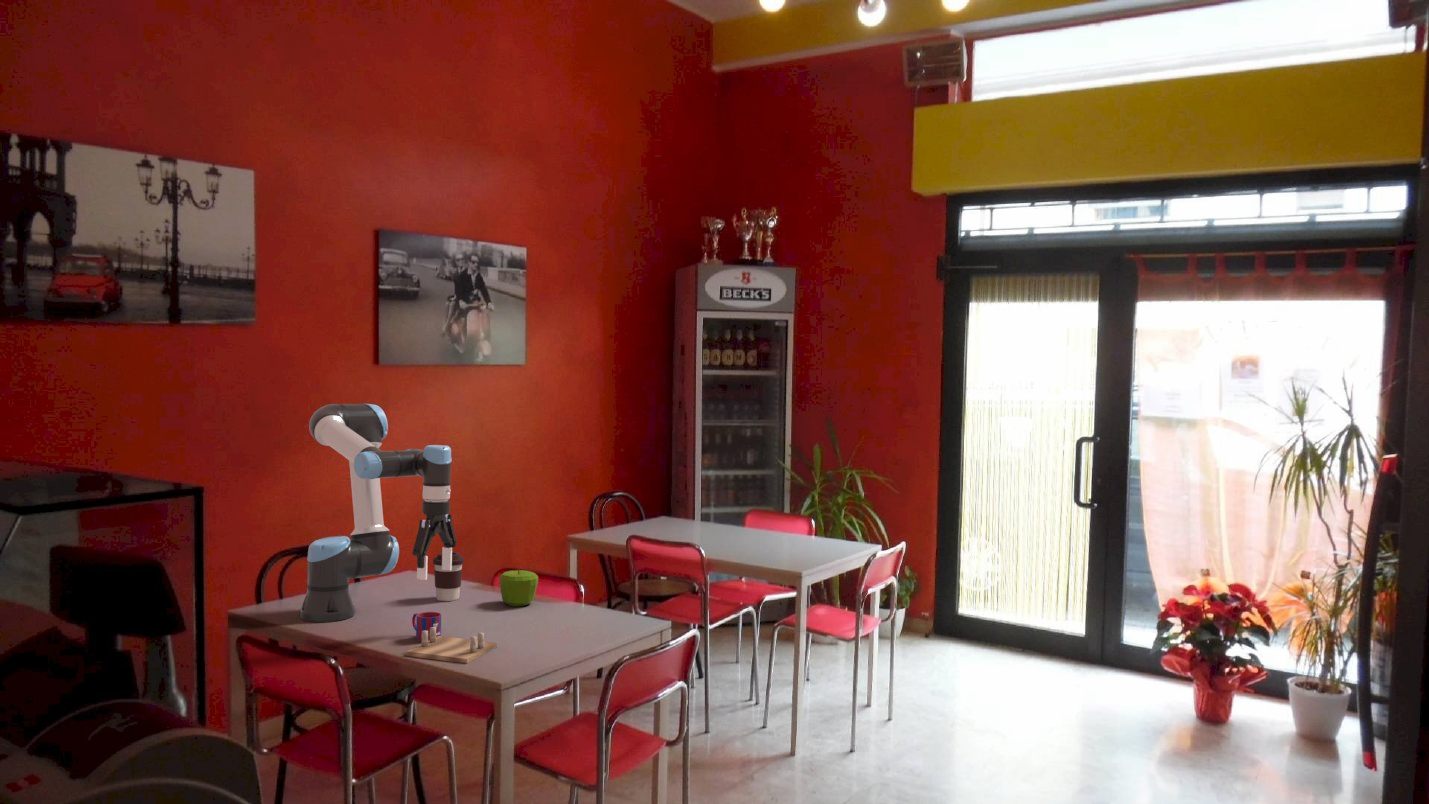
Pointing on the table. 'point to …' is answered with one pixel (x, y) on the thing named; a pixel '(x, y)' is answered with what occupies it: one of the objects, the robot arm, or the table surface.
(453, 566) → the coffee cup
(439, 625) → the cup
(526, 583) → the apple
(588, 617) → the table surface
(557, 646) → the table surface
